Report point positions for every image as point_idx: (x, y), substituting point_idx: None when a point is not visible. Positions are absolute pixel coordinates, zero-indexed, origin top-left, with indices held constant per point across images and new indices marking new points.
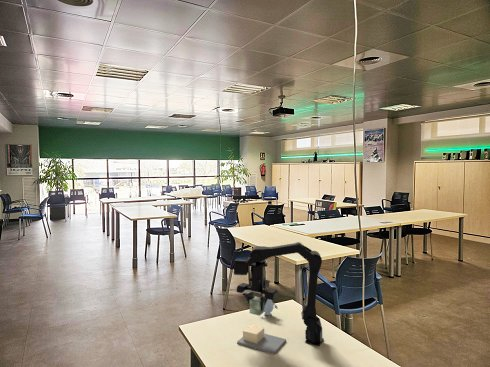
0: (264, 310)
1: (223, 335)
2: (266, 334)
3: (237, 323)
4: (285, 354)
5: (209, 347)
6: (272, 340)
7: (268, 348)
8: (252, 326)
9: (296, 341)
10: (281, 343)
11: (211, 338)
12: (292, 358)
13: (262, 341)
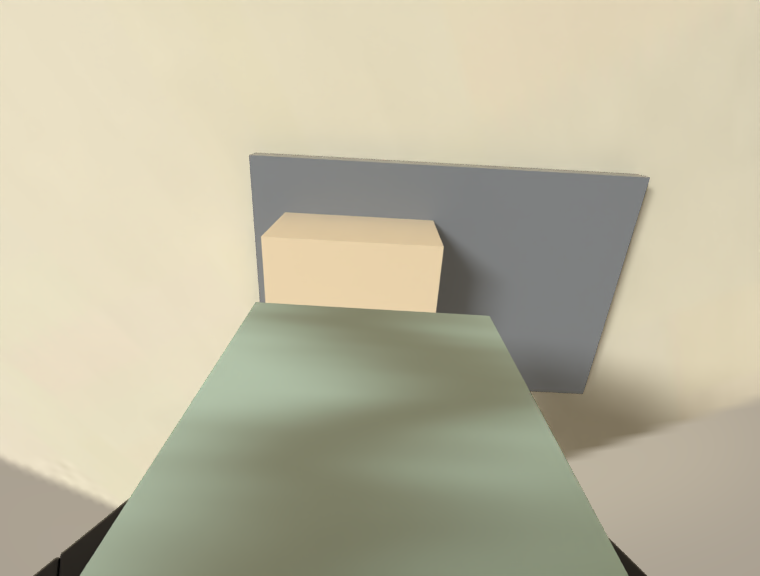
0: (494, 339)
1: (95, 308)
2: (437, 173)
3: (8, 25)
4: (654, 354)
5: (143, 463)
6: (527, 254)
7: (528, 370)
8: (306, 271)
9: (740, 130)
10: (617, 268)
11: (59, 378)
12: (708, 377)
13: (449, 303)
